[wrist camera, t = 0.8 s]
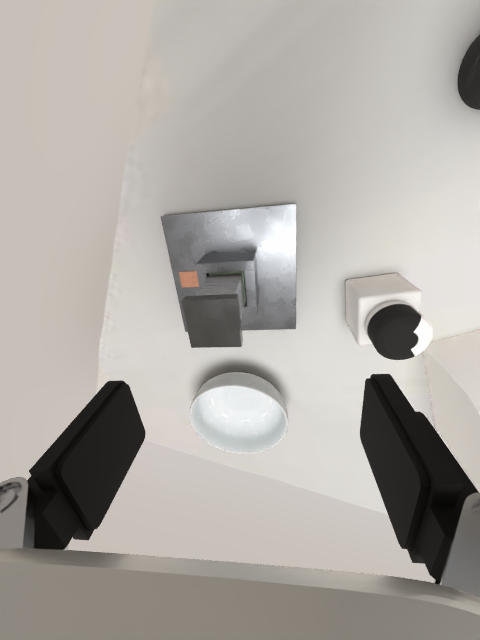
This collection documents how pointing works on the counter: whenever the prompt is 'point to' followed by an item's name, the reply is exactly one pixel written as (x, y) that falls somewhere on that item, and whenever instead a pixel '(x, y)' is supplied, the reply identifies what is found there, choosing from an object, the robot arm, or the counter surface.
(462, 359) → the white house-shaped block
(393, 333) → the medicine bottle
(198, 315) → the column
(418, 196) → the counter surface
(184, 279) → the stand base
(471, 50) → the travel mug
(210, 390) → the cereal bowl
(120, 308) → the counter surface
